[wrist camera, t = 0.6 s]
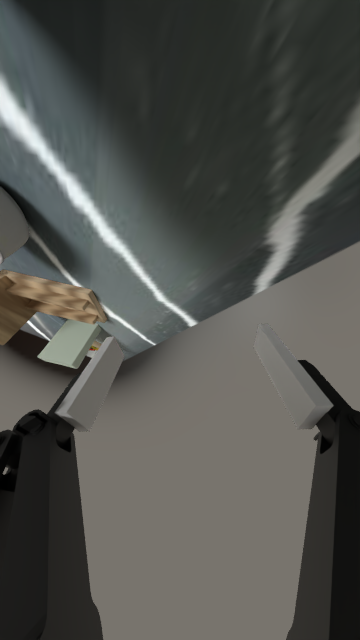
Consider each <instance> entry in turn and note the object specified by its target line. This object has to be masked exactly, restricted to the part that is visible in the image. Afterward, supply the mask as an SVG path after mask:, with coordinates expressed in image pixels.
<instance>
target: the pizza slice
mask: <svg viewBox="0 0 360 640" xmlns="http://www.w3.org/2000/svg"><path fill="white" fill-rule="evenodd" d="M101 345H102V344H100V343H98V342H96V341H94V343H93V344H92V346H91V347H90V349H89V350H94V351H95V350H98V349H99V348H100V346H101Z"/></svg>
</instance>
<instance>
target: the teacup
mask: <svg viewBox="0 0 360 640" xmlns="http://www.w3.org/2000/svg"><path fill="white" fill-rule="evenodd" d="M28 238H29V227H28V224H27V222H26V219H25V216H24V214H23V212H22V211H21V209H20V207H19V206H18V205H17V203H16V202H15V201H14V199H13V198H12V197H11V196H10V195H9V194H8V193H7V192H6V191H5V190H4V189H3V188H2V187H0V264H1V263H3V262H4V259H6V258H7V257H9V256H10V255H11V254H13V253H14V252H15V251H17V250H18V249H19V248H20V247H22V246H23V245H24V244H25V243H26V242H27V240H28Z"/></svg>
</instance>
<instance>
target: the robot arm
mask: <svg viewBox="0 0 360 640" xmlns="http://www.w3.org/2000/svg"><path fill="white" fill-rule="evenodd" d="M254 349H255V351H256V353H257V355H258V357H259V358H260V360H261V362H262V364H263V365H264V367H265V369H266V371H267V373H268V375H269V377H270V379H271V381H272V383H273V384H274V386H275V388H276V390H277V392H278V394H279V395H280V397H281V399H282V401H283V403H284V405H285V407H286V409H287V410H288V412H289V414H290V416H291V418H292V420H293V422H294V423H295V425H296V427H297V429H312V428H313V427H314V426H315V425H317V427H318V429H319V430H320V432H319V433H318V434H317V435H316V436H315V437H314V440H317V439H318V444H317V451H316V458H315V466H314V473H313V481H312V488H311V496H310V504H309V511H308V518H307V525H306V533H305V540H304V548H303V556H302V563H301V571H300V578H299V585H298V592H297V600H296V607H295V615H294V621H293V624H292V627H291V629H290V631H289V632H288V635H287V639H286V640H360V412H359V411H356V410H353V409H352V408H351V407H350V406H349V405H348V404H347V403H346V401H345V400H344V399H343V398H342V397H341V396H340V395H339V394H338V392H337V391H336V390H335V389H334V388H333V387H332V386H331V385H330V383H329V382H328V381H326V379H325V378H324V377H323V376H322V375H321V374H320V372H319V371H318V370H317V369H316V368H315V367H314V366H313V365H312V364H310V363H309V362H307V361H306V360H297V359H296V358H295V357H294V356H293V355H292V353H291V352H290V351H289V349H288V348H287V347H286V346H285V344H284V343H283V342H282V341H281V339H280V338H279V337H278V336H277V334H276V333H275V332H274V331H273V329H272V328H271V327H270V326H269V324H259V325H258V329H257V334H256V338H255V343H254ZM123 358H124V354H123V352H122V350H121V348H120V347H119V345H118V343H117V341H116V339H115V337H107V338H106V339H105V341H104V342H103V343H102V345H101V346H100V348H99V349H98V351H97V352H96V354H95V355H94V356H93V358H92V359H91V361H90V362H89V364H88V365H87V367H86V368H85V370H84V371H83V372H82V373H79V374H78V375H77V376H75V377H74V378H73V379H72V381H71V382H70V384H69V385H68V387H67V388H66V389H65V390H64V393H62V395H61V396H60V397H59V399H58V400H57V401H56V403H55V404H54V406H53V407H52V408H51V410H50V411H49V412H48V414H45V413H44V412H42V411H41V410H33V411H31V412H29V413H28V414H26V415H25V416H23V417H22V418H21V419H20V420H19V421H18V422H17V423H16V425H15V426H14V428H13V431H11V430H5V431H2V432H0V640H103V635H102V627H101V621H100V616H99V612H98V609H97V607H96V606H95V604H94V603H93V601H92V597H91V592H90V583H89V573H88V564H87V554H86V545H85V536H84V526H83V517H82V506H81V497H80V487H79V478H78V469H77V460H76V449H75V440H74V434H73V433H72V432H73V430H74V428H75V429H77V430H78V431H90V429H91V427H92V425H93V423H94V421H95V419H96V417H97V414H98V412H99V410H100V408H101V406H102V404H103V401H104V399H105V397H106V395H107V393H108V391H109V389H110V386H111V384H112V382H113V380H114V378H115V375H116V373H117V371H118V369H119V367H120V365H121V363H122V360H123ZM5 467H7V468H8V471H7V473H6V474H5V475H3V471H4V469H5Z"/></svg>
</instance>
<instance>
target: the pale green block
mask: <svg viewBox="0 0 360 640" xmlns="http://www.w3.org/2000/svg"><path fill="white" fill-rule="evenodd" d="M100 331H101V328H100V327H99V325H98V324H94V325H93V324H89V323H84V322H80V321H76V320H72V319H68V320H67V321H66V322H65V323H64V325H63V326H62V327H61V328H60V330H59V331H58V332H57V333H56V335H55V336H54V337H53V338H52V339H51V341H50V342H49V343H48V344H47V346H46V347H45V348H44V349H43V351H42V352H41V353H40V354H39V356H38V357H39V358H41V359H43V360H45V361H48V362H52V363H56V364H60V365H64V366H68V367H72V368H76V369H77V368H78V367H79V365H80V364H81V362H82V360H83V359H84V357H85V356H86V354H87V352H88V351H89V349H90V347H91V346H92V344H93V343H94V341H95V339H96V338H97V336H98V334H99V333H100Z"/></svg>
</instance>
